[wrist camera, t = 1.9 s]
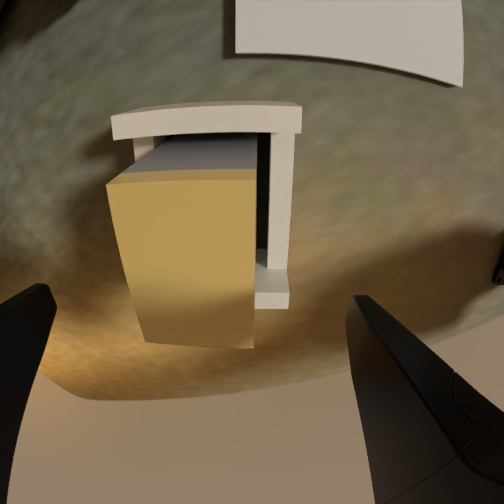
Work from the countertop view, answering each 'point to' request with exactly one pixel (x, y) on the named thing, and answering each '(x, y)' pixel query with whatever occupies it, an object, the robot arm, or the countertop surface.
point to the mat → (359, 33)
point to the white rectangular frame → (280, 166)
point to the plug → (191, 238)
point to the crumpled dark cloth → (2, 4)
